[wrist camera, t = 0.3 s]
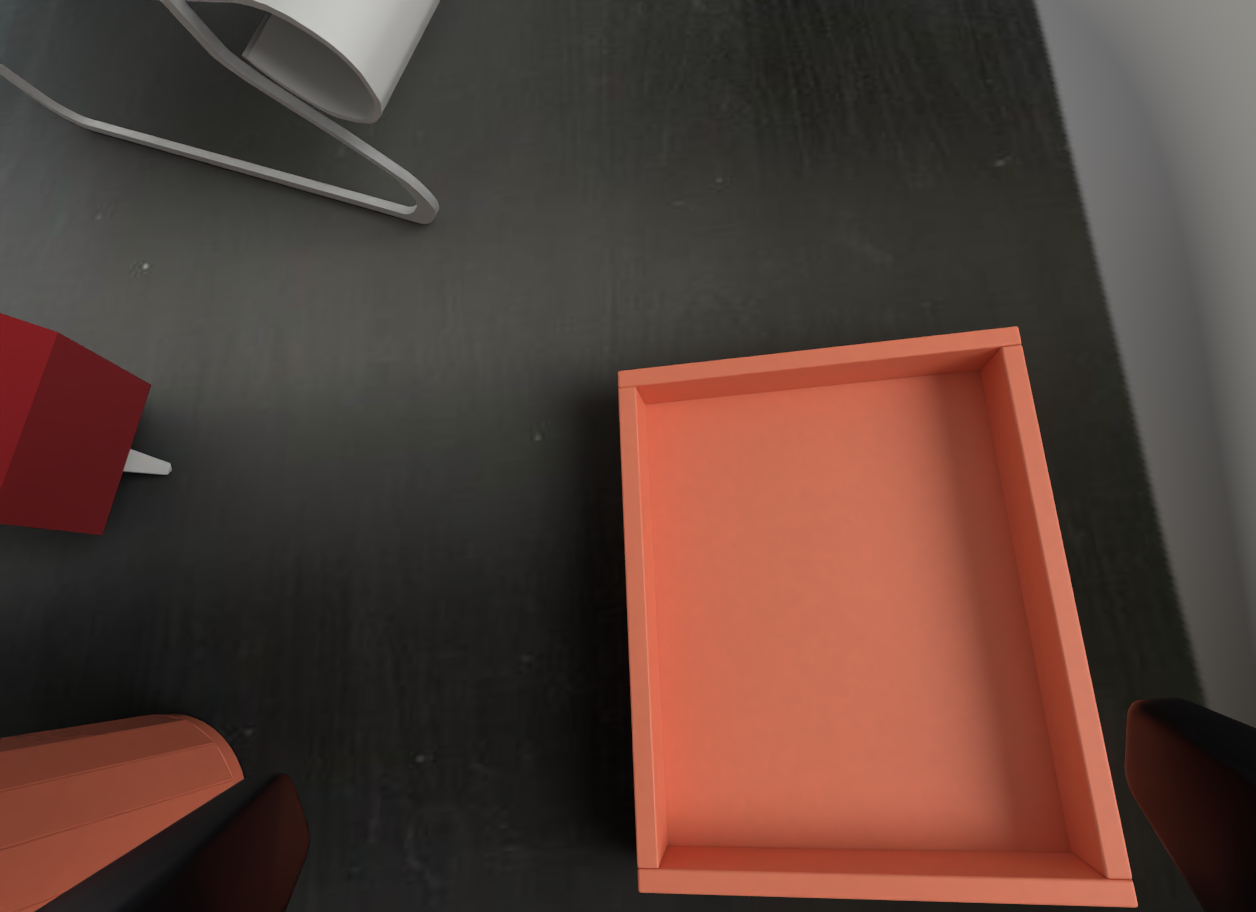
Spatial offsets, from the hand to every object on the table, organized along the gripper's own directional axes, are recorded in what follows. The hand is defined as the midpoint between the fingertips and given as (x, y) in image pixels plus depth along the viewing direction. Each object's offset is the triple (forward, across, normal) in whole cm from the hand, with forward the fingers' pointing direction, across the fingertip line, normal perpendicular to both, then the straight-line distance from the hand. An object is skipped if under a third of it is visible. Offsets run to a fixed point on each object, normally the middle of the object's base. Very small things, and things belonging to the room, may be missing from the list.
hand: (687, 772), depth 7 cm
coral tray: (+14, -4, +6) cm, 15 cm away
